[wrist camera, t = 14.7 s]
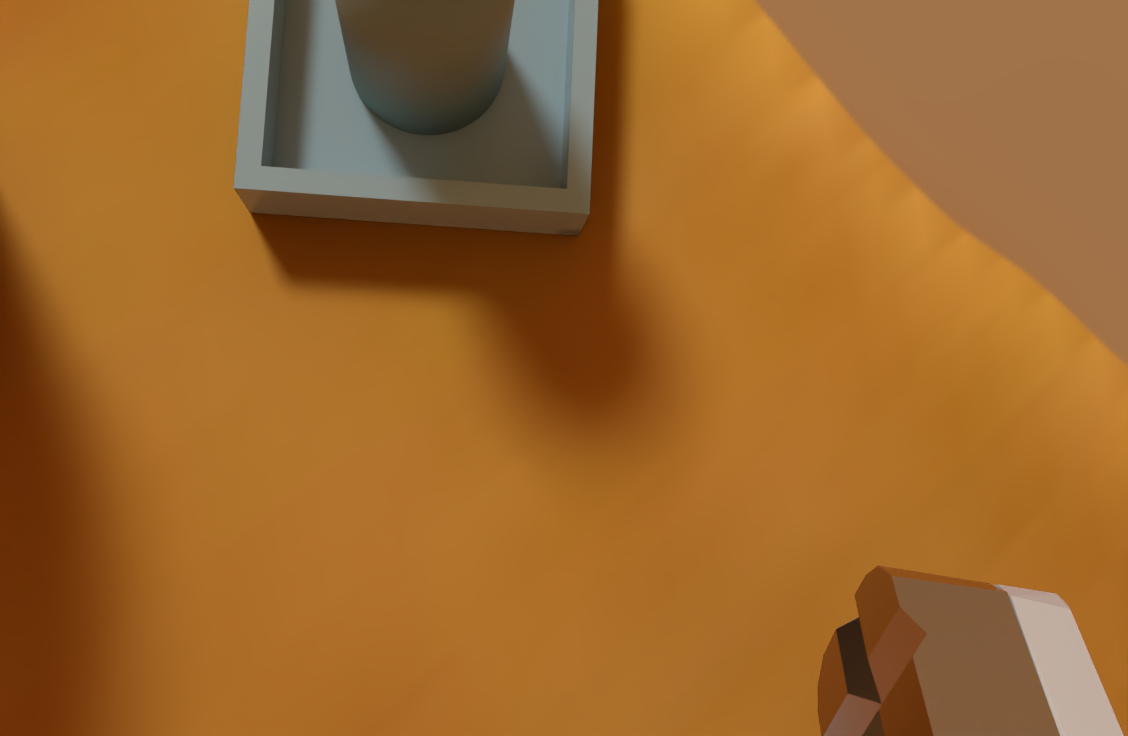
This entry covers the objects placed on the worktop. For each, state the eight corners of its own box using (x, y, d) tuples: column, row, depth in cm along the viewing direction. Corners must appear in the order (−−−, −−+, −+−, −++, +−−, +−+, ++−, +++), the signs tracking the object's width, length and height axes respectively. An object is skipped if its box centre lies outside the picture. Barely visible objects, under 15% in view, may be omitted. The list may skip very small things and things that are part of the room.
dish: (590, -66, 40) (603, -111, 37) (578, 235, 39) (589, 213, 36) (275, -98, 39) (261, -147, 36) (249, 212, 37) (233, 188, 34)
